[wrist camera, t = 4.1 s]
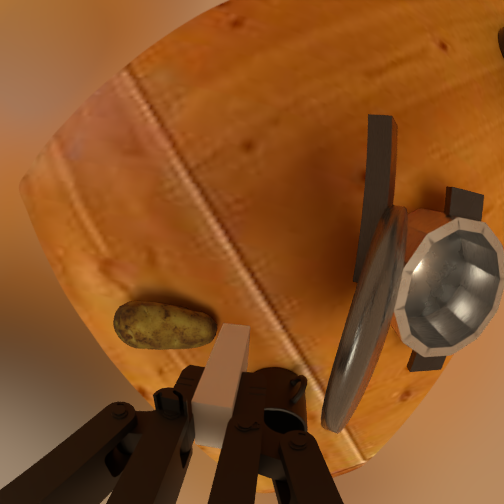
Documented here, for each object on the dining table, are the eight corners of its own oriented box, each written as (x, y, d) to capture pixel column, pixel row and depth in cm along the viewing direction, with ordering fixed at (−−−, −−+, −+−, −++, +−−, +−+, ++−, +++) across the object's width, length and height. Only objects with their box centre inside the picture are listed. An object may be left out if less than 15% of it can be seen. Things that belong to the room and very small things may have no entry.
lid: (388, 70, 9) (329, 71, 10) (313, 476, 14) (279, 461, 15) (416, 146, 22) (391, 143, 24) (379, 361, 27) (358, 355, 29)
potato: (202, 357, 40) (187, 390, 33) (128, 315, 40) (101, 340, 32) (225, 314, 38) (212, 345, 31) (144, 269, 38) (115, 289, 30)
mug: (328, 374, 39) (336, 415, 30) (279, 418, 42) (277, 458, 33) (277, 344, 39) (275, 384, 30) (232, 393, 42) (221, 433, 33)
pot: (477, 197, 31) (518, 204, 22) (446, 339, 36) (474, 370, 27) (372, 176, 32) (401, 175, 23) (346, 339, 37) (361, 379, 28)
